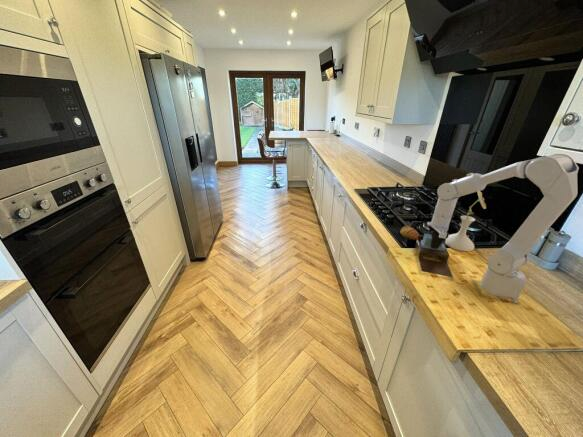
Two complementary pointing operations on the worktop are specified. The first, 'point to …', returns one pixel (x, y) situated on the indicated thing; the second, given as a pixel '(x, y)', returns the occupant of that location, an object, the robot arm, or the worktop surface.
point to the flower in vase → (464, 231)
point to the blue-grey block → (427, 243)
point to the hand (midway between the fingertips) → (432, 245)
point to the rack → (433, 265)
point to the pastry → (409, 233)
